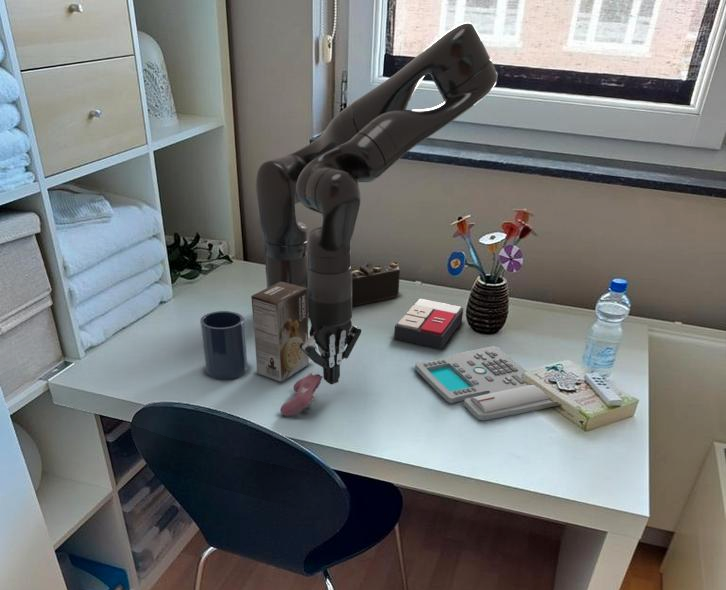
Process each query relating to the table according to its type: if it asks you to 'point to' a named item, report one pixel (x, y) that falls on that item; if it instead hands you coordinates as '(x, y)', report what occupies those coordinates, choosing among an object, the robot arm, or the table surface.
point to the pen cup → (224, 344)
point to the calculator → (429, 323)
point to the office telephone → (484, 383)
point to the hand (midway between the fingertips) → (331, 381)
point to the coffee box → (280, 330)
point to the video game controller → (302, 394)
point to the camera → (375, 283)
